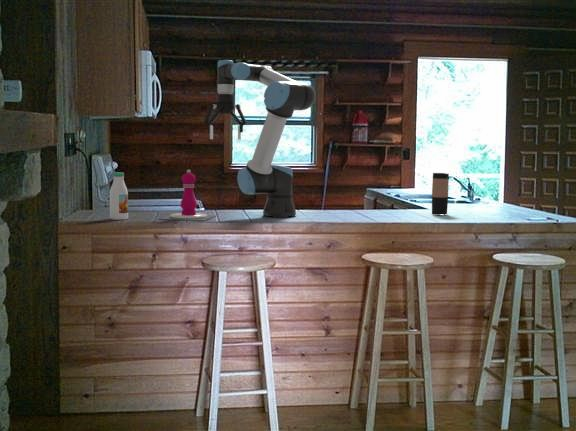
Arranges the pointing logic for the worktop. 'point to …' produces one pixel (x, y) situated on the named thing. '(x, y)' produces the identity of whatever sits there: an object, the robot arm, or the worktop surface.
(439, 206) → the travel mug
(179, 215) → the plate
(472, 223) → the worktop surface
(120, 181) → the milk bottle
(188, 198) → the pepper mill
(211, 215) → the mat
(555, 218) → the worktop surface
